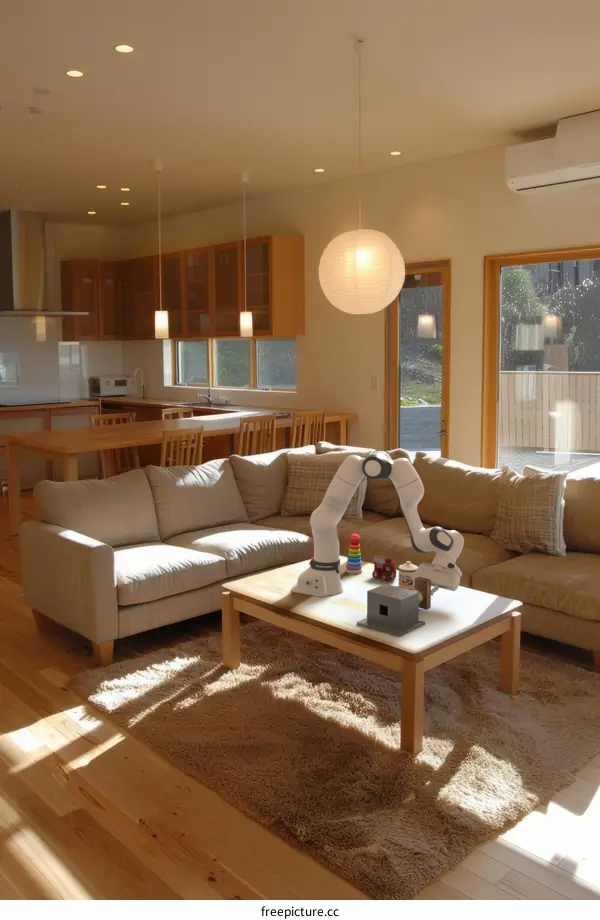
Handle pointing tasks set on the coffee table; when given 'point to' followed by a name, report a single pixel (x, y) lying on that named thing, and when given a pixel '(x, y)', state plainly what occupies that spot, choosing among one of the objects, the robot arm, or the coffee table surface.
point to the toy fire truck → (383, 568)
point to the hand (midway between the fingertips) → (428, 594)
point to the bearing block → (392, 610)
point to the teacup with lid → (407, 575)
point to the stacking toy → (354, 556)
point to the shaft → (423, 592)
